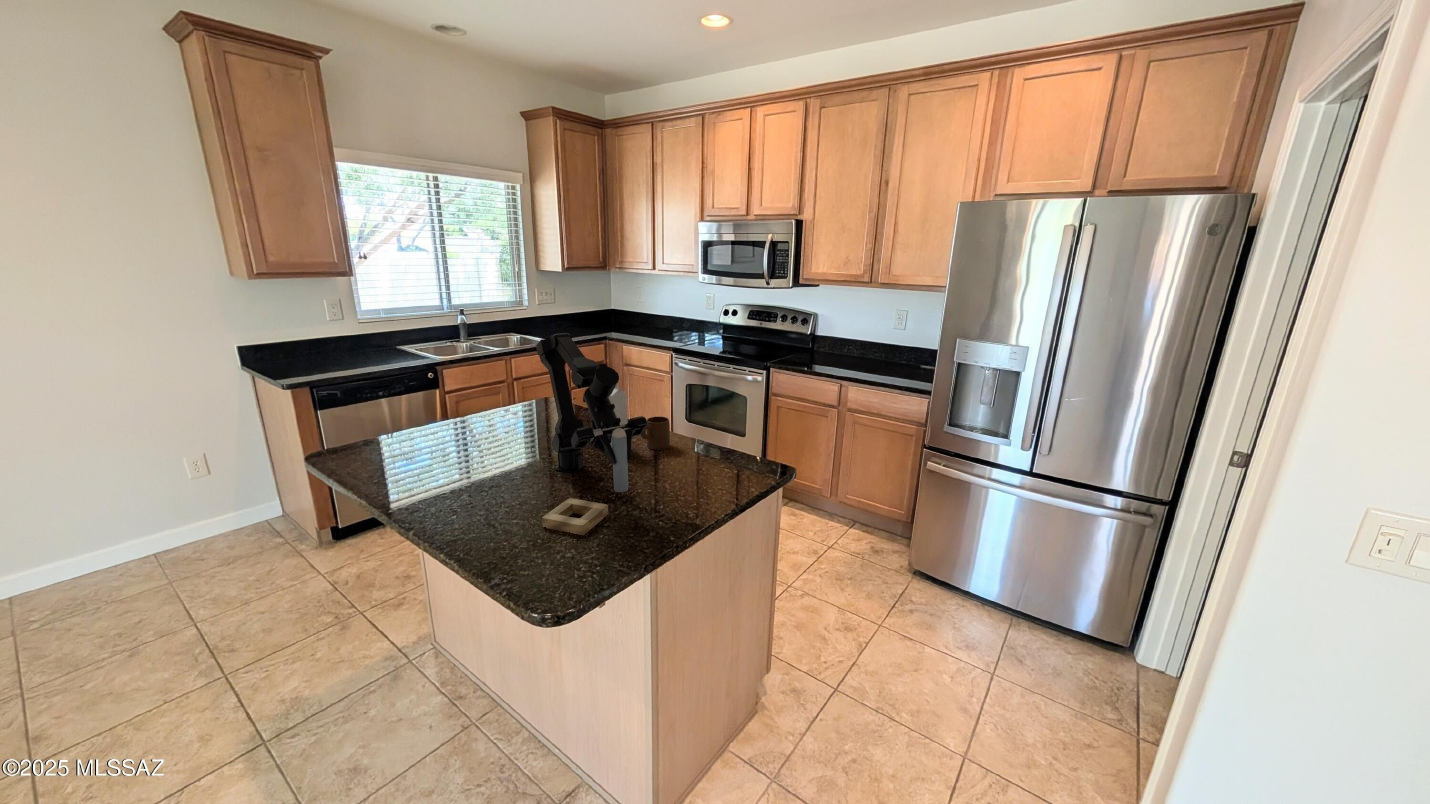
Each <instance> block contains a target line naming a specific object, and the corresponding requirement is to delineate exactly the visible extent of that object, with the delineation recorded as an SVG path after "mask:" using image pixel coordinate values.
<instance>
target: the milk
mask: <svg viewBox="0 0 1430 804" xmlns="http://www.w3.org/2000/svg"><path fill="white" fill-rule="evenodd" d="M627 395H628V394H627V392H626V391H624V390H621V389H620V385H619V384H618V383H617V385H616V387H615V389H614V390H613V392H612V394H611V395H610V396H609V400H610V402H611V404H614V405H615V408H614V412H615V414H616V416H617V418H620V420H621V422H620V425H625V424H627V423H628V421H629V420H628V397H627ZM611 447H612V439H611Z"/></svg>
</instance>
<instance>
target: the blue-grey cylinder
mask: <svg viewBox="0 0 1430 804" xmlns="http://www.w3.org/2000/svg"><path fill="white" fill-rule="evenodd" d="M612 449H613V452H614V455H615V458H616V462H617V463H616V464H615V465H614V464H613V463H612V475H613V491H614V492H616V493H624V492H627V491H628V490H629V471H628V469H629V468H628V467H629V466H628V460H627V438H626V433H625V431H624V430H623V429H621V428H617V429H615V430H614V431H613V433H612Z"/></svg>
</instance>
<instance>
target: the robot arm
mask: <svg viewBox="0 0 1430 804" xmlns="http://www.w3.org/2000/svg"><path fill="white" fill-rule="evenodd" d="M535 347H536V348H535V349H536V354H537V356H538V357H539V360H540V363H541V364H542V365H543V366H544V367H545V368H546V369H547V370H548V375H549V380H550V385H551V389H552V394H553V398H554V403H555V404H554V405H555V408H556V414H557V420H556V425H555V427H554V435H553V438H552V440H551V442H550V443H551V449H552V450H553V452H555V453H556V454H557V464H558V465H557V467H555V469H554V470H555V471H558V472H565V473H569V474H570V473H572V474H574V473H576V472H578V471H579V470H580V469H582V468H583V467H585V466H586V464H585V463H584V457H583V456H584V455H583V453H582V449H586V447H587V445H589V448H590V449H597V450H599V451H600V452H601V454H603V455H604V456H605V457H606V458H607V459H608V460H609V461H610V463H612V465H613V464H614V465H615V464H616V463H617V462H616V458H615V455H614V452H613V449H612V447H611V439H612V433H613V431H614V430H615V429H617V428H621V429H623V430H624V431H625V433H626V438H627V462H630V461H631V460H632V438H633V437H636V436H641V434H642V433H643V431H644V430H645V428H646V427H647V426H648V422H647V418H646V417H645V416H644V415H641V416H636V417H635V416H634V417H630V418H629V420H628V423H627V424H625V425H620V422H621V420H620V418H617V416H616V414H615V412H614V408H615V405H614V404H611V402H610V400H609V396H610V395H611V394H612V392H613V390H614V389H615V387H616V385H617V384H618V382H619V380H620V376H619V373H618V372H617V371H616V370H615V369H614V368H613V367H610V366H608V365H607V363H606V362H604V363H597V362H596V361H595V360H593V359H590V358H587V357H586V356H585V354H584V353H583V352H582V351H581V349H580V348H579V347H578V346H577V344H576V343H575V342H574V340H573V338H572V335H571V333H568V332H562V333H561V332H560V333H554V334H551V335H550V336H548V337H546V338H543V339H539V342H537V343H536V346H535ZM566 364H567V366H568V367H569V369H570V370H571V371H570V372H571V373H570V374H571V375H570V379H571V382H572V384H573V385H574V386H575V387H576V389H585V390H584V393H583V397H582V403H585V404H586V406H587V407H586V408H587V409H588V413H589V414H590V418H589V420H590V423H591V426H589V425H588V426H585V425H584V421H583V420H582V418H579V417H577V415H576V414H575V409H574V406H573V401H572V400H573V399H572V396H571V391H570V387H569V386H570V385H569V381H568V375H567V372H566V371H567V370H566Z"/></svg>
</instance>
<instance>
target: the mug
mask: <svg viewBox="0 0 1430 804" xmlns="http://www.w3.org/2000/svg"><path fill="white" fill-rule="evenodd" d="M646 420H647V422H648V426H647V427H646V428H645V430H644V431H643V433H642V434H640V437H641V438H642V439H643V440H646V445H647V448H648V449H651V450H655V451H662V450H666V449H667V448H669V447H670V443H671V440H670V439H671V438H670V437H671V435H670V434H671V432H670V431H671V430H670V429H671V427H670V419H669V417H666V416H653V417H652V416H651V417H648V418H646Z"/></svg>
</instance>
